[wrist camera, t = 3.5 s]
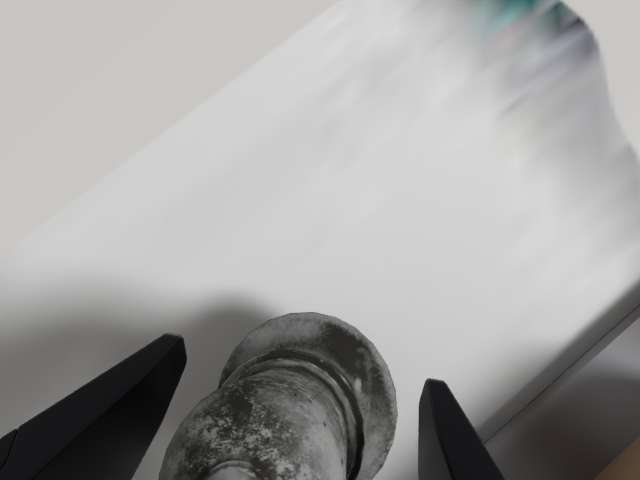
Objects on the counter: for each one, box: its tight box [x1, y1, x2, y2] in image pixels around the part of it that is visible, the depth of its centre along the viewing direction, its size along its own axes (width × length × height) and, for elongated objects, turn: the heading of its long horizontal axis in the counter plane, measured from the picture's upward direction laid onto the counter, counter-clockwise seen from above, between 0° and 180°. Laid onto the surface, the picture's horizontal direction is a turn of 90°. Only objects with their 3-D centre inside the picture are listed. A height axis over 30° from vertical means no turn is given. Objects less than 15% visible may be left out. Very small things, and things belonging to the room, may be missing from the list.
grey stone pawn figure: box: [159, 312, 398, 480], centre depth 10 cm, size 6×6×12 cm
